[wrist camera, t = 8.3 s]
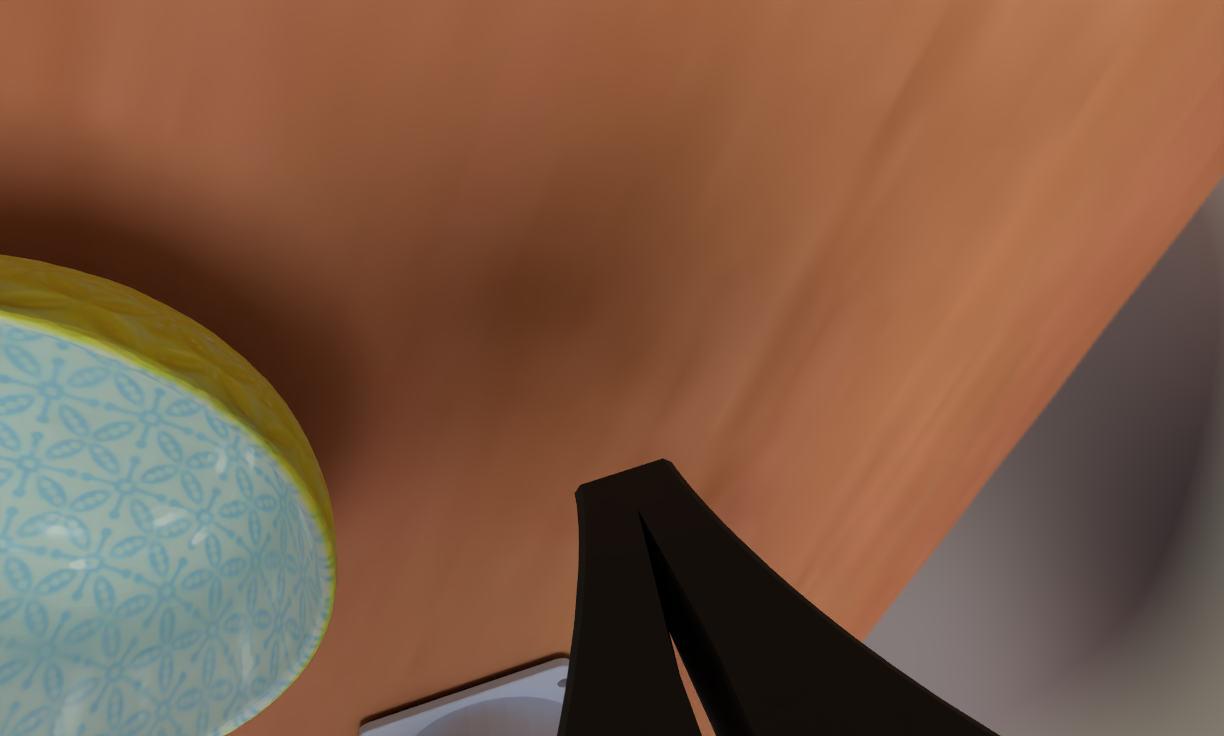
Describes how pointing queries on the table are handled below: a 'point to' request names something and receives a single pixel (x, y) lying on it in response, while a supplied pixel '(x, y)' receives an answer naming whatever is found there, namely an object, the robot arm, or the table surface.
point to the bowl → (147, 518)
